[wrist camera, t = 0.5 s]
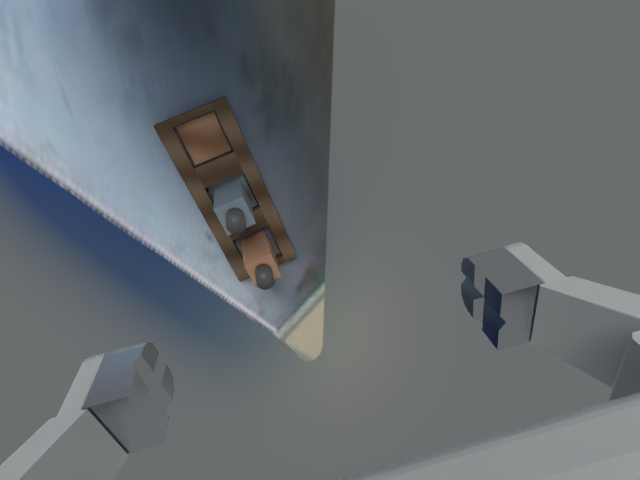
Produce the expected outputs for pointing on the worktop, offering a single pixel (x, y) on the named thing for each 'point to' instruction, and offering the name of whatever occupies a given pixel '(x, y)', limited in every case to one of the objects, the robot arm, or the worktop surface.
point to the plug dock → (221, 173)
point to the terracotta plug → (260, 260)
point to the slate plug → (233, 207)
